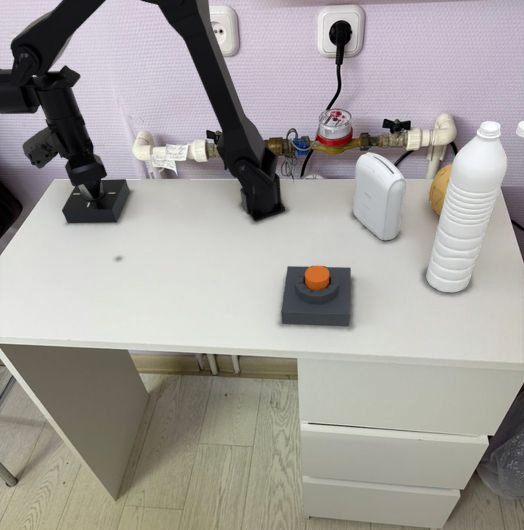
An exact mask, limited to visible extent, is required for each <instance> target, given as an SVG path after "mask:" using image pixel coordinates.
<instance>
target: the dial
mask: <svg viewBox="0 0 524 530" xmlns="http://www.w3.org/2000/svg"><path fill="white" fill-rule="evenodd" d="M102 180H103V179H101V186H100V195H99V198H101V197H103V196H104V194H105V188H104V186H103V183H102ZM79 189H80V191H81V193H82V196H83V198H84V199H86V200H90V201H92V200H97V199H99V198H97V199H93V197H92V196H91V195H90V193H89V192H88V190H87V189H86V188H85V186H84V185H83V184H82V185H79Z"/></svg>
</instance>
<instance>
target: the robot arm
mask: <svg viewBox="0 0 524 530" xmlns="http://www.w3.org/2000/svg"><path fill="white" fill-rule="evenodd" d="M106 1H107V0H61V1H60V2H59V4H58V5H57V6H56V7H55V8H53V9H52V10H50V11H48V12H47V13H44V14H43V15H41V16H40V17H38V18H36V19H35V20H33V21H32V22H30V23H29V24H28V25H27V26H26V27H25V28H23V29H22V31H20V32H19V34H17V35H16V36H15V37H14V38H12V40H11V42H10V45H9V49H10V51H11V54H12V57H13V61H12V66H11V68H0V115H24V114H25V115H34V114H36V113H37V112H38V111H39V109H40V107H41V110H42V113H43V114H44V117H45V119H44V120H45V121H44V122H45V123H46V127H44V128H43V129H41V130H39V131H37V132H36V133H34V135H32V136H31V137H30V138H28V139H27V140H26V141H24V143H23V144H22V151H23V154H24V156H25V157H26V158H27V159H28V160H29V161H30V164H31V165H32V166H35V167H36V168H37V169H39V170H41V169H43V168H45V166H46V165H47V164H49V163H50V162H52V160H53V159H54V158H56V157H57V156H58V155H59V157H60V159H65V160H67V161H66V163H65V165H64V169H65V172H66V174H67V177H68V179H69V181H70V184H71V186H72V187H75V186H79V185H82V184H83V185H84V186H85V188H86V189H87V190H88V192H89V193H90V195H91V196H92V197H93V199H97V198H99V195H100V186H101V180H103V179H106V177H107V176H108V172H107V170H106V167H105V164H104V163H103V160H102V158H101V156H100V155H98V154H96V153H95V151H94V147H95V146H94V144H93V141H92V139H91V137H90V134H89V132H88V128H87V126H86V122H85V119H84V117H83V115H82V111H81V110H80V107H79V105H78V101H77V99H76V96H75V94H74V91H73V88H74V87H75V86H76V84H77V83H78V81H80V79H81V77H82V76H81V74H80V73H79V72H77V71H76V70H73V69H72V68H70V67H69V66H68V65H66V64H64V65H63V66H62V67H61V68H60V70H51V69H52V67H53V66H55V64H56V63H57V62H58V61H59V60H60V58H62V56H63V54H64V52H65V51H66V49H67V47H68V46H69V44H70V42H71V40H72V38H73V36H74V35H75V32H77V30H78V29H79V28H80V27H81V26H82V25H83V24H84V23H85V22H86V21H87V20H88V19H89V18H90V17H91V16H92V15H93V14H95V12H97V10H98V9H100V7H102V5H104V3H106ZM140 1H141V2H144V3H148V4H151V5H156V6H158V8H159V10H160V11H161V13H162V15H163V17H164V18H165V20H166V21H167V23H168V24H169V25H170V27H171V28H172V29H173V30H174V31H175V32H176V33H177V34H178V35H179V36H180V37H181V38H182V40H183V41H184V44H185V46H186V48H187V51H188V53H189V55H190V57H191V60H192V62H193V66H194V67H195V69H196V72H197V75H198V76H199V77H198V78H199V80H200V82H201V84H202V87H203V89H204V91H205V94H206V96H207V98H208V101H209V103H210V105H211V108H212V110H213V112H214V115H215V117H216V120H217V122H218V125H219V127H220V129H221V133H220V136H219V139H218V142H217V145H216V148H215V149H216V151H217V153H218V155H219V157H220V158H221V161H222V163H223V168H224V169H223V170H224V171H227V170H228V172H229V173H230V175H231V176H232V177H233V178H234V179H237V180H238V182H239V184H240V186H241V187H240V189H239V190H240V197H241V206H242V208H243V210H244V211H245V213H246V214H247V215H249V216H250V217H251V219H252V220H253V221H254V222H257V221H260V220H264V219H266V218H269V217H272V216H275V215H279V214H280V213H283V212H285V211H286V206H285V205H284V204H283V203H282V193H281V177H280V175H279V174H278V173H277V166H278V161H279V155H278V154H277V153H276V152H275V151H274V150H273V149H271V148H270V147H269V146H268V145H266V142H265V140H264V138H263V137H262V135H261V133H260V131H259V129H258V128H257V126H256V125H255V124H254V123H253V122H252V121H251V119H250V118H249V117H248V116H247V115H246V113H245V112H244V108H243V105H242V102H241V101H240V98H239V95H238V91H237V90H236V87H235V83H234V81H233V79H232V76H231V74H230V71H229V68H228V65H227V63H226V60H225V57H224V55H223V52H222V49H221V47H220V44H219V42H218V38H217V36H216V33H215V30H214V27H213V25H212V21H211V12H210V1H209V0H140Z"/></svg>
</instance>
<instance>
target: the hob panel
mask: <svg viewBox="0 0 524 530" xmlns="http://www.w3.org/2000/svg"><path fill="white" fill-rule="evenodd" d="M101 180H102V183H103V186H104V188H105V194H104V196H103V197H101V198H99V199H97V200H92V201H90V200H86V199H84V198H83V196H82V193H81V191H80V189H79V186H73V189H72V191H71V193H70V194H69V196H68V199H67V200H66V202H65V203H64V205H63V207H62V209H61V212H62V214H63V216H64V218H65V221H66V222H67V224H100V223H101V224H103V223H104V224H105V223H107V224H109V223H118V221H119V218H120V216H121V214H122V212H123V209H124V207H125V205H126V202H127V200H128V198H129V195H130V193H131V191H130V188H129V184H128V182H127V179H126V178H111V179H110V178H109V179H101Z"/></svg>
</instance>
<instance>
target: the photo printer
mask: <svg viewBox="0 0 524 530" xmlns="http://www.w3.org/2000/svg"><path fill="white" fill-rule="evenodd" d="M406 189H407V181H406V178H405V177H404V175H403V174H402V172H401V171H400V170H399V169H398V167H396V165H394V163H392V162H391V160H389V159H387V158H386V157H384V156H382V155H380V154H378V153H375V152H369V151H367V152H366V153H363V154H361V155H360V156H359V158H358V159H357V161H356V163H355V168H354V186H353V201H352V207H353V208H352V214H353V215H354V216H355V218H356V219H357V220H358V221H359V222H360V223H361V224H362V225H363V226H364V227H365V228H367V230H369V232H371V233H372V234H373V235H375V237H377V238H378V239H380V240H382V241H390V240H391V241H392V240H393V239H396V237H397V236H398V234H399V233H400V230H401V224H402V217H403V209H404V203H405V197H406V191H407V190H406Z"/></svg>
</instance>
